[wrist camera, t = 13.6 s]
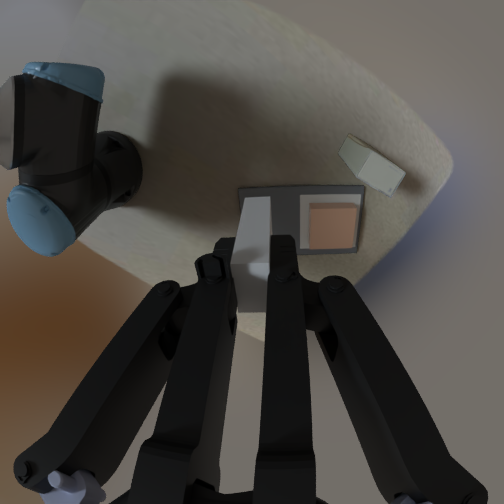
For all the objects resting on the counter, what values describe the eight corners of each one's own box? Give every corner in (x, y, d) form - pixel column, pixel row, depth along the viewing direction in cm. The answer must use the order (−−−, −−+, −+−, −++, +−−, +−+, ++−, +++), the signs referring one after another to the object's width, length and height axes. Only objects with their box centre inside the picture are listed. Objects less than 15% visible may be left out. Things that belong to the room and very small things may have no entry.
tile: (309, 249, 48) (352, 248, 48) (310, 208, 44) (356, 208, 43) (308, 241, 51) (348, 240, 50) (309, 202, 46) (352, 202, 45)
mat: (246, 255, 54) (245, 257, 54) (238, 188, 46) (238, 189, 46) (355, 251, 52) (356, 253, 51) (363, 185, 44) (364, 186, 44)
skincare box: (377, 150, 40) (408, 173, 30) (365, 171, 43) (391, 199, 33) (347, 132, 39) (372, 148, 29) (335, 154, 42) (355, 177, 32)
